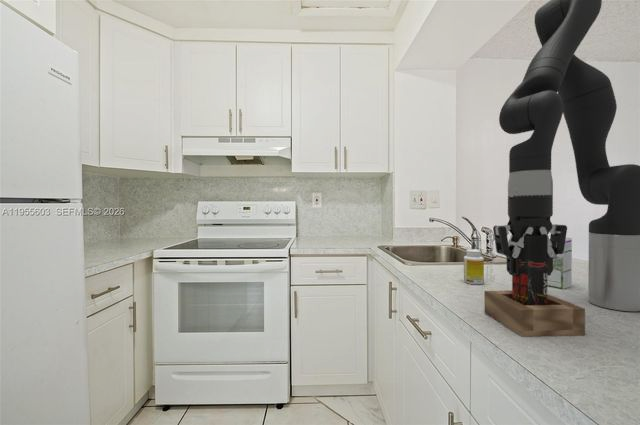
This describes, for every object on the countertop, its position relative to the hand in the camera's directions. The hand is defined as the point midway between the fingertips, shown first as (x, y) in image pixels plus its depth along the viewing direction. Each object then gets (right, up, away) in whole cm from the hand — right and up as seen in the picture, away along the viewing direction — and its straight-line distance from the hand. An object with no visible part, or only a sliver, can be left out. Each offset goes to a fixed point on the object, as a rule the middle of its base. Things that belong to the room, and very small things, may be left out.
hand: (529, 274), depth 60 cm
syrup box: (+27, -9, +26) cm, 39 cm away
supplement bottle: (+5, -9, +31) cm, 33 cm away
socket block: (0, -10, 0) cm, 10 cm away
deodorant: (0, -7, 0) cm, 7 cm away
